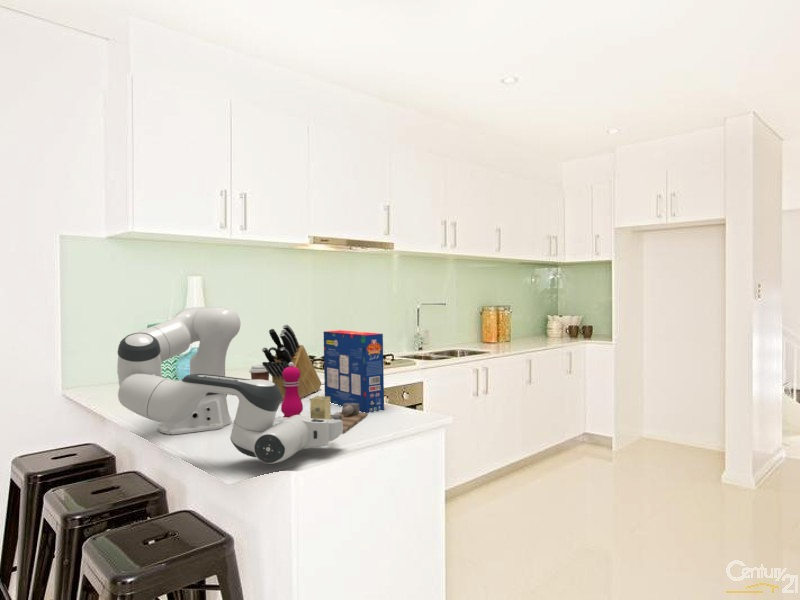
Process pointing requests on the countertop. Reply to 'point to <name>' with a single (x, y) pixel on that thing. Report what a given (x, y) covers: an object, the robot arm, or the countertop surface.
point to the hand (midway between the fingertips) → (316, 420)
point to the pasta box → (354, 369)
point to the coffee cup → (259, 372)
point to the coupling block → (320, 407)
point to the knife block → (290, 354)
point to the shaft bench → (349, 415)
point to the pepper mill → (291, 392)
